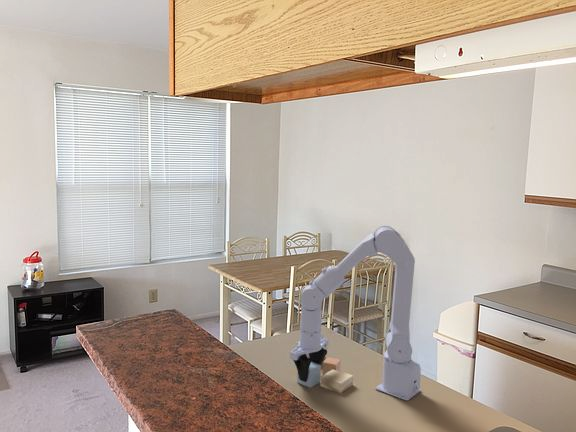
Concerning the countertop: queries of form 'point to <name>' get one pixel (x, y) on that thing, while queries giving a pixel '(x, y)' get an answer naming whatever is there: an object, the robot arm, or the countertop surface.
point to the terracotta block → (330, 365)
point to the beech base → (336, 381)
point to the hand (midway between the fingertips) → (308, 377)
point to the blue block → (312, 375)
